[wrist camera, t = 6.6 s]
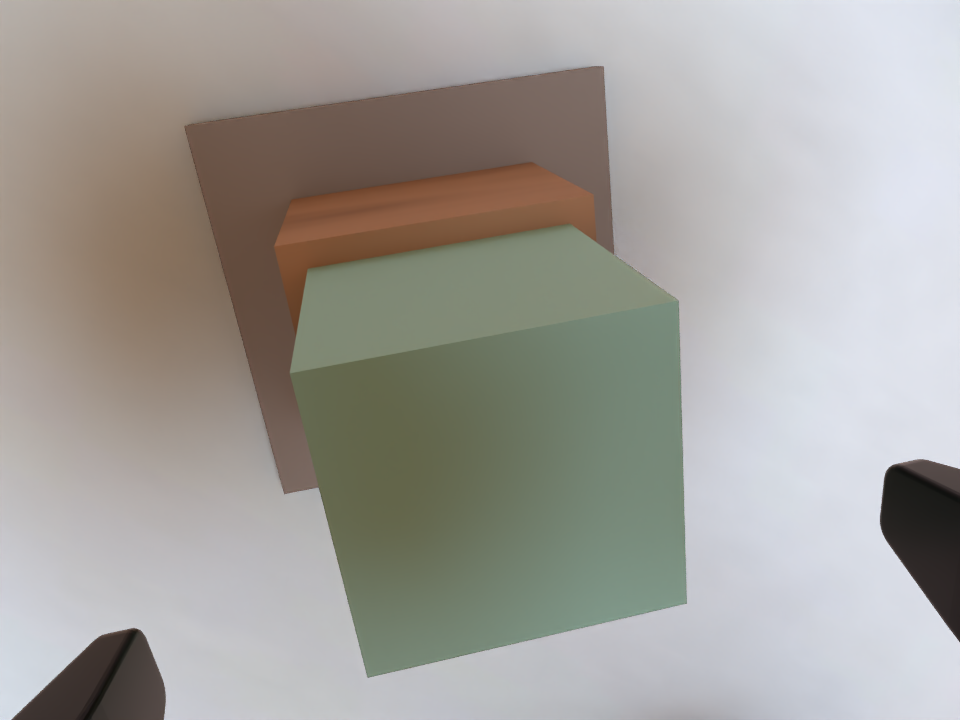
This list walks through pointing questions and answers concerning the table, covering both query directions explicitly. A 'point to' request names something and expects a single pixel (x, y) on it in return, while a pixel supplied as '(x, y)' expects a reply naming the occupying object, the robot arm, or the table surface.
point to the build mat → (368, 163)
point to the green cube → (494, 441)
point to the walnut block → (423, 218)
